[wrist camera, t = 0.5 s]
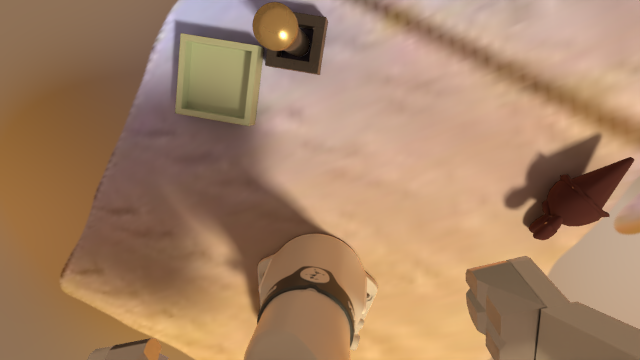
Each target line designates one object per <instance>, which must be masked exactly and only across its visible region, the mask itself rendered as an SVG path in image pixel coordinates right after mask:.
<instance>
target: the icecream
mask: <svg viewBox="0 0 640 360" xmlns="http://www.w3.org/2000/svg"><path fill="white" fill-rule="evenodd" d="M633 161H634V159H633V158H632V157H629V158H626V159H624V160H621V161H618V162H616V163H613V164H611V165H608V166H605V167H602V168H600V169H597V170H594V171H592V172H589V173H586V174H584V175H581V176H578V177H576V178H573V179H571V178H570V177H569V175H566V174H564V175H560V179H561V180H560V181H558V182H556V184H555V185H554V186H553V187H552V188H551V189H550V191H549V194H548V196H547V200H545V201H544V202H543V203H542V209H543V211H544V213H545V214H544V215H543V216H541V217H540V218H538V219H537V220H535V221H534V222H533V223H532V224H531V225H530V227H529V230H530V231H531V232H532V233H533V237H534V238H536V239H539V240H546V239H549V238H550V237H551V236H553V235H554V234H555V233H556V232H557V230H558V229H559V228H560V226H561V224H564V225H567V226H582V225H586V224H590V223H592V222H595V221H598V220H599V219H600V218H601V217H609V213H607V212H605V211H603V210H602V208H603V206H604V205H605V203H606V202H607V200H608V199H609V197H610V196H611V194H612V193H613V191H614V190H615V188H616V187H617V185H618V184H619V182H620V181H621V179H622V178H623V176H624V175H625V173H626V172H627V171H628V169H629V168H630V166H631V165H632V163H633Z"/></svg>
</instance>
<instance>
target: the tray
mask: <svg viewBox="0 0 640 360" xmlns="http://www.w3.org/2000/svg"><path fill="white" fill-rule="evenodd" d="M263 53H264V48H262V47H260V46H257V45H251V44H244V43H238V42H232V41H226V40H220V39H213V38H207V37H201V36H195V35H189V34H182V33H181V37H180V51H179V65H178V80H177V94H176V108H175V113H177V114H182V115H188V116H194V117H200V118H205V119H211V120H217V121H222V122H228V123H234V124H240V125H245V126H251V125H255V120H256V112H257V103H258V95H259V87H260V78H261V70H262V62H263Z"/></svg>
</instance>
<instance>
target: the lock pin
mask: <svg viewBox="0 0 640 360" xmlns="http://www.w3.org/2000/svg"><path fill="white" fill-rule="evenodd" d="M253 32H254V35H255V37H256V39H257V41H258V42H259V43H260V44H261V45H262V46H264V47H266V48H268V49H270V50H273V51H282V50H284V51H286V52H288V53H290V54H292V55H294V56H296V57H301V56H304V55H305V54H307V52H308V51H309V49H310V40H309V38H308V37H307V35H306V34H305V33H304V32H303V31H302V30H301V29H300V28H299V27H298V21H297V18H296V16H295V15H294V13H293V12H292V11H291V10H290V9H289V8H288V7H287V6H286V5H284V4H282V3H278V2H271V3H267V4H265V5H263V6H262V7H261V8H260V9H259V10H258V11H257V12H256V14H255V16H254V19H253Z"/></svg>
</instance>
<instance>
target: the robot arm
mask: <svg viewBox="0 0 640 360" xmlns="http://www.w3.org/2000/svg"><path fill="white" fill-rule="evenodd" d="M257 271H258V285H259V290H258V291H259V298H260V311H259V315H258V319H257V327H256V329H255V331H254V334H253V336H252V338H251V340H250V343H249V345H248V347H247V350H246V352H245V356H244V360H350V350H356V349H357V347H358V343H359V339H360V336H359V335H358V333H359V330H360V329H362V327H363V324H364V320H365V317H366V315H367V313H368V311H369V309H370V306H371V304H372V302H373V300H374V298H375V296H376V293H377V289H378V285H377V283H376V282H375V280H374V279H373V278H372V277H370V276H369V275H368V274H367V273H366V272H365V270H364V269H363V267H362V264H361V262H360V260H359V258H358V257H357V255H356V254H355V252H354V251H353V250H352V249H351V248H350V247H349V246H348V245H347V244H345V243H344V242H342V241H341V240H339V239H337V238H335V237H332V236H329V235H325V234H306V235H302V236H299V237H296V238H294V239H292V240H291V241H289V242H288V243H286V244H285V245H284V246H283V247H282V248H281V249H280V250H279V251H278V252H277V253H276V254H274V255H271V256H269V257H266V258H264V259H262V260H261V261H260V262H259V264H258V267H257ZM264 273H265V274H264ZM466 282H467V284H468V285H469V287H470V289H469V290H468V292H467V293H466V299H467V306H468V310H469V314H470V316H471V319H472V321H473V323H474V325H475V327H476V329H477V330H478V331H479V332H481V333H483V334H484V335H486V347H487V348H488V350H489V352H490V354H491V355H492V357H493V359H494V360H640V329H638V328H635V327H633V326H631V325H629V324H626V323H624V322H622V321H620V320H617V319H615V318H613V317H611V316H608V315H606V314H604V313H601V312H599V311H597V310H595V309H593V308H590V307H588V306H586V305H584V304H581V303H579V302H572V303H570V301H569V300H568V299H567V298H566V297H565V296H564V295H563V294H562V293H561V291H560V290H559V289H558V288H557V287H556V286H555V285H554V284H553V283H552V281H550V279H549V278H548V277H547V276H546V275H545V274H544V273H543V272H542V270H541V269H540V268H539V267H538V266H537V265H536V264H535V263H534V262H533V260H532V259H531V258H529V257H527V256H523V257H519V258H514V259H510V260H506V261H501V262H497V263H492V264H488V265H483V266H479V267H475V268H470V269H467V271H466ZM367 293H368V294H369V295H368V296H367ZM161 348H162V346H161V345H160V343H159V342H158V340H157V339H156V338H150V339H145V340H140V341H134V342H129V343H124V344H119V345H115V346H110V347H105V348H100V349H96V350H94V351H93V352H92V353H91V354H90V355H89V357H88V359H87V360H169V358H168V357H166V356H164V355H162V354H160V351H161Z"/></svg>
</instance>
